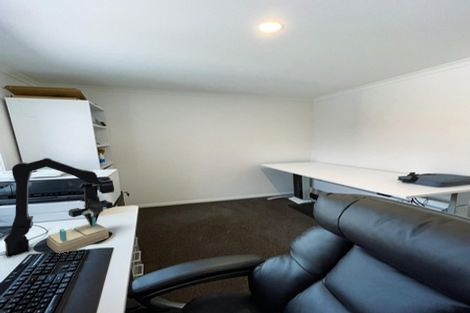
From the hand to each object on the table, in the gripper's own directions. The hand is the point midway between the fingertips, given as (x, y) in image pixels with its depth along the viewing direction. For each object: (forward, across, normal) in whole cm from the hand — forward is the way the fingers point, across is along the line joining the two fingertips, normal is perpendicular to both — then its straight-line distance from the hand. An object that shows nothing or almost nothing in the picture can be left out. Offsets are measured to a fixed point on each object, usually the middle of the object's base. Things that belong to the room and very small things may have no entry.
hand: (92, 224), depth 110 cm
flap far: (+1, -3, -3) cm, 4 cm away
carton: (+5, -8, -3) cm, 10 cm away
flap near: (+1, -13, -3) cm, 13 cm away
